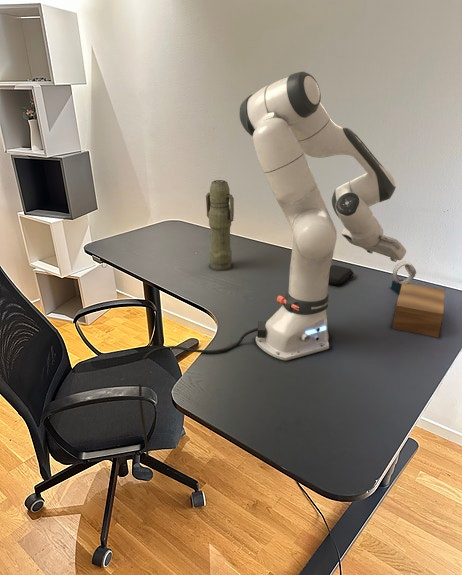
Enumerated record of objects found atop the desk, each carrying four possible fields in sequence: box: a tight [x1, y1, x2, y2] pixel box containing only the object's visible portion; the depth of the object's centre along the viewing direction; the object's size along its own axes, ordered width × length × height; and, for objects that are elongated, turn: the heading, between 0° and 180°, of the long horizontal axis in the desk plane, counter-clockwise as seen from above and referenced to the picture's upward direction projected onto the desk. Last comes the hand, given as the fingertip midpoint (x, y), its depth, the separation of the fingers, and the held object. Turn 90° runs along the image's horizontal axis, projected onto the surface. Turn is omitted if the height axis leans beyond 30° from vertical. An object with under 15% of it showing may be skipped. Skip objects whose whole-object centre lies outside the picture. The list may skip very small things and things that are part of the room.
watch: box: [390, 261, 417, 295], centre depth 157 cm, size 6×8×11 cm
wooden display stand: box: [392, 283, 446, 338], centre depth 139 cm, size 18×13×8 cm
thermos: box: [205, 179, 235, 271], centre depth 174 cm, size 9×12×35 cm
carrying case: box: [328, 264, 355, 287], centre depth 169 cm, size 11×3×15 cm
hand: (382, 255), depth 145 cm, fingers open, 8 cm apart
